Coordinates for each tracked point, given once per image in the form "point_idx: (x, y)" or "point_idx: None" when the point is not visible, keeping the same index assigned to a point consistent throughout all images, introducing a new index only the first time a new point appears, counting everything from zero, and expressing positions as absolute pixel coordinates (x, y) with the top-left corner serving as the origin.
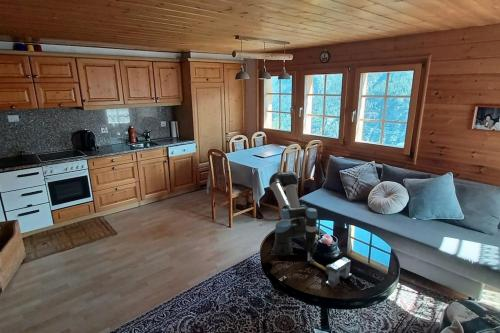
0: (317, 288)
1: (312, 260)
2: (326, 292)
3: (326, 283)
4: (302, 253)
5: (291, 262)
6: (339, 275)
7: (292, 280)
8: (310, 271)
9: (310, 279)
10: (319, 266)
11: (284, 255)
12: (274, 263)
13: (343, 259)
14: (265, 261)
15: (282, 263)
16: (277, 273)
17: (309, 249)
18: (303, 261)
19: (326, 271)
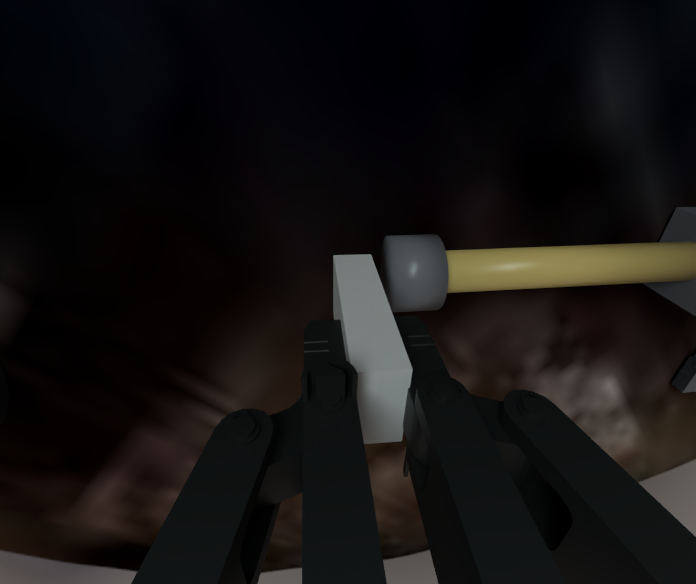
0: (617, 453)
1: (423, 302)
2: (693, 435)
3: (681, 384)
4: (24, 141)
5: (199, 420)
6: None
7: (416, 519)
8: (466, 370)
9: None
10: (556, 286)
11: (4, 417)
12: (128, 525)
13: None
14: (57, 558)
15: (166, 484)
16: (277, 551)
17: (335, 433)
18: (266, 305)
19: (683, 302)
